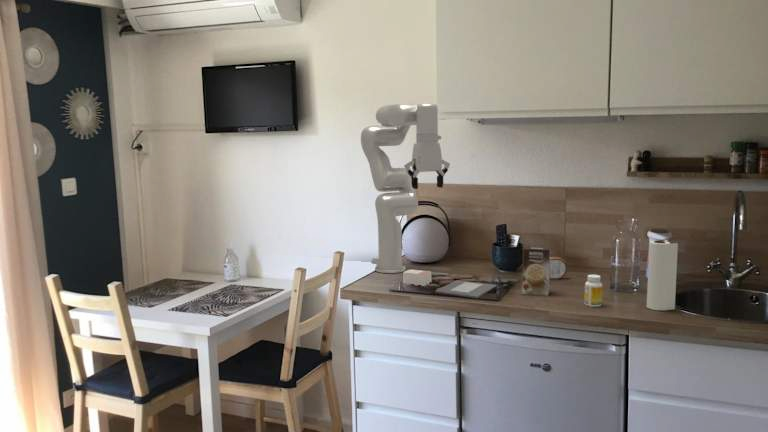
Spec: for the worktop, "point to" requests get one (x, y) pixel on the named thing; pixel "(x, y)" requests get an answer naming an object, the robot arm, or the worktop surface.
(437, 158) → the robot arm
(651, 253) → the paper towel roll
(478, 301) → the worktop surface
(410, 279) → the card box
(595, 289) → the supplement bottle
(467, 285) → the mat
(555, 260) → the tin
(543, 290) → the coffee box
